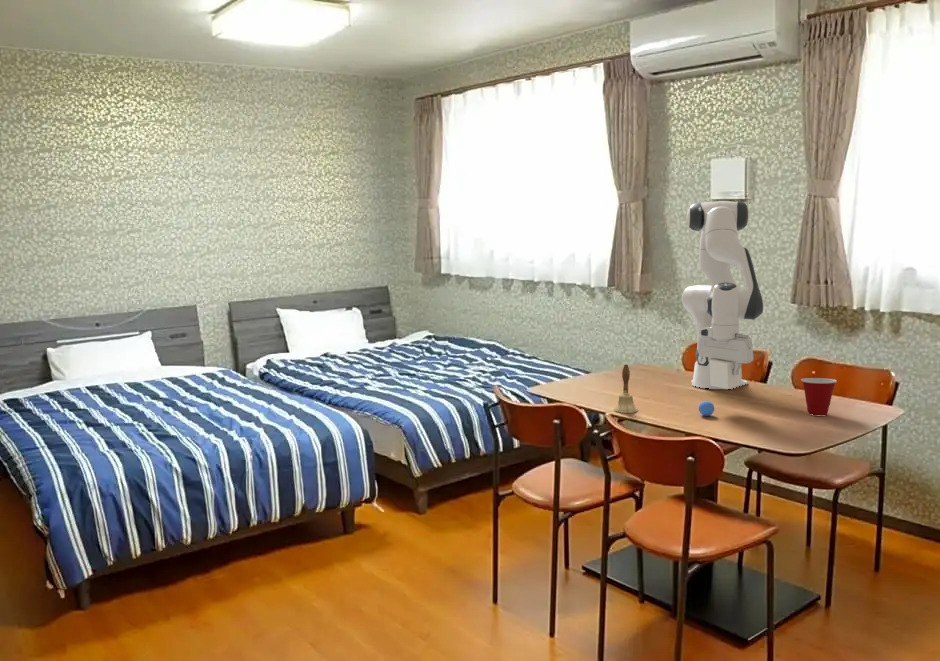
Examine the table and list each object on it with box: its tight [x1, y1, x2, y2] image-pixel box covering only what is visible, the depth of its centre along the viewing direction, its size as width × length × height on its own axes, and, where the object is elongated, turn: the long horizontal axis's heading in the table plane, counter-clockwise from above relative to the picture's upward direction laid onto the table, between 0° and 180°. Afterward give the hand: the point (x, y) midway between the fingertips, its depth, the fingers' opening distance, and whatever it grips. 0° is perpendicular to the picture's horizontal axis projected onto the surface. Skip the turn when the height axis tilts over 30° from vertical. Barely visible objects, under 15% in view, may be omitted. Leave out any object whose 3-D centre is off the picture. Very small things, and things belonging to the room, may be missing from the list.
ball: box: [698, 400, 715, 417], centre depth 271 cm, size 5×5×5 cm
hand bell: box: [613, 363, 639, 414], centre depth 280 cm, size 8×8×16 cm
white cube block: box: [710, 359, 743, 390], centre depth 275 cm, size 7×7×9 cm
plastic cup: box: [800, 377, 838, 416], centre depth 270 cm, size 11×11×12 cm
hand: (724, 372), depth 275 cm, fingers closed on white cube block, 7 cm apart
